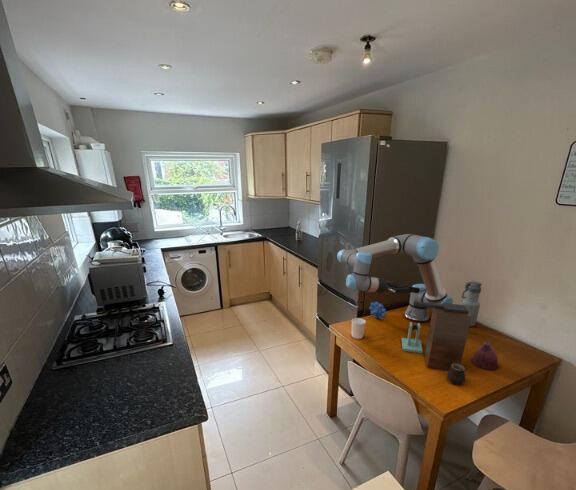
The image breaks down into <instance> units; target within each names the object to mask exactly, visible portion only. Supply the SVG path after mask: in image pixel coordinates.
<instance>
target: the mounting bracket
mask: <svg viewBox="0 0 576 490" xmlns="http://www.w3.org/2000/svg"><path fill="white" fill-rule="evenodd" d="M412 324H413V321H412V322H411V321H410V322H409V324H408V332H407V337H401V347H402V348H401V349H402V351H403V352H410V353H415V354H423V353H424V352H423V350H424V349H423V346H422V341H421V340H420V339H419V338H420V331H421V329H422V327H421V322H417V324H416V325H417V330H416V331H415V338H411V337H412V331H413V330H412Z"/></svg>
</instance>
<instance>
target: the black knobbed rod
mask: <svg viewBox="0 0 576 490" xmlns="http://www.w3.org/2000/svg"><path fill="white" fill-rule="evenodd" d="M417 325H418V324H414V323H412V331H415V330H416V331H417Z"/></svg>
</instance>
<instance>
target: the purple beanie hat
mask: <svg viewBox="0 0 576 490" xmlns="http://www.w3.org/2000/svg"><path fill="white" fill-rule="evenodd" d="M471 362H472V363H473V364H474V365H475V366H476V367H478V368H481V369H484V370H489V371H490V370H491V371H492V370H496V369H497V366H498V355H497V353H496V351H495V349H494V348H493V347H492V345H491V343H490V342H488V341H485V342H484V343H483V344H482V345H481V346H479V348H477V350H476V351H475V353H474V354H473V357H472V361H471Z"/></svg>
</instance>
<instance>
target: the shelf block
mask: <svg viewBox="0 0 576 490" xmlns="http://www.w3.org/2000/svg"><path fill="white" fill-rule="evenodd" d="M434 304H438V303H434ZM471 318H472V316H471V315H470V313H469V312H468V314H463V313H454V312H445V311H444V310H443V309H435V308H433V310H432V313H431V318H430V324H429V330H428V335H427V340H426V344H425V345H426V346H425V351H424V359H425V363H426V368H427V369H433V370H439V371H445V372H448V371H449V370H450V369H451V365H452V364H460V365H462V360H463V356H464V351H465V347H466V343H467V339H468V335H469V330H470V327H471V326H470V322H471Z"/></svg>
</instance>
